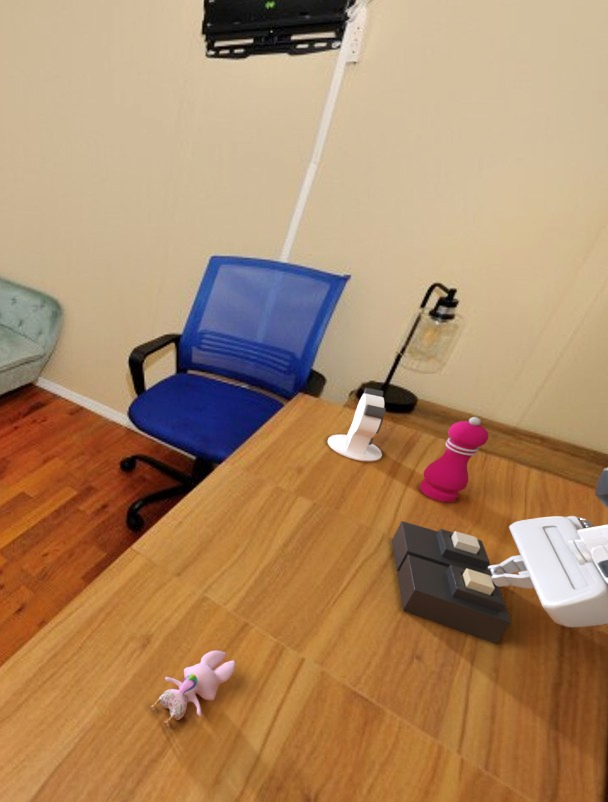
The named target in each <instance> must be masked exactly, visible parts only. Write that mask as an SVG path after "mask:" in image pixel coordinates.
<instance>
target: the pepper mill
mask: <svg viewBox="0 0 608 802" xmlns="http://www.w3.org/2000/svg"><path fill="white" fill-rule="evenodd" d="M481 423H482V420H481V418H480V417H477V416H472V417H470V418H469V419H468V420H462V421H457V422H455V423H453V424H452V425H451V426H450V427H449V429H448V431H447V433H448V436H449V437H448V438H447V440H446V442H445V446H446V448H445V450H444V453H443V454H442V455H440V457H439V458H437V459H436V460H434V461H432V462H430V464H428V465H427V466H426V468H425V469H424V470H423V473H422V475H423V477H424V479H422V480H421V482H420V485H419V490H420V492H421V493H422V494H423V495H425V496H427V497H428V498H431V499H432V500H435V501H438V502H442V503H453V502H455V501H456V500H457V498H458V497H459V492H461V491H463V490H465V489H466V487H467V486H468V483H469V472H468V464H469V461H470V459H471V458H472V456H475V455H477V454H478V451H479V449H480V448H479V447H482V446H484V445H485V444H487V442H488V441H489V432H488V430H487V429H486V428H485V427H484V426H482V425H481Z"/></svg>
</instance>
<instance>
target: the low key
mask: <svg viewBox="0 0 608 802" xmlns="http://www.w3.org/2000/svg"><path fill="white" fill-rule="evenodd" d="M453 532H454V533H453V535H452V537H451V540H452V543H453V547H454V548H457V549H460V550H464V551H467V552H470V553H474V554H477V552H478V551H479V549H480V546H479V543H478V540H479V539H478V537H477V536H473V535H471V534H466V533H463V532H460V531H457V530H455V531H453ZM477 539H478V540H477Z"/></svg>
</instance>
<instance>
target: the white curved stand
mask: <svg viewBox="0 0 608 802" xmlns="http://www.w3.org/2000/svg"><path fill="white" fill-rule="evenodd" d="M383 396H384V391H383V390H379V389H374V388H368V387H365V388H364V391H363V393H362V395H361V397H360V399H359V401H358V404H357V407H356V409H355V412H354V416H353V420H352V422H351V425H350V427H349V429H348V432H347V434H332V435H330V436H329V437H328V439H327V444H328V446H329V447H330V449H331V450H333V451H334V452H336V453H338V454H339V455H341V456H343V457H345V458H347V459H348V458H349V459H352V460H355V461H359V462H369V463H370V462H376V461H379V460H380V459H382V456H383V453H382V450H381V449H380V448H379V447H378V446H376V444H374V443H373V441H374V437H375V436H376V434H379V432H380V430H381V428H382V425H383V422H384V417H385V414H386V410H387V407H385V398H384V397H383Z"/></svg>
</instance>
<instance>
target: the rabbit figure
mask: <svg viewBox="0 0 608 802" xmlns="http://www.w3.org/2000/svg"><path fill="white" fill-rule="evenodd" d="M226 657H227V652H225V651H222V650H211V651H208V652H207V653H205V654H204V655H203V656H202V657H201V659H200V662H199V663H197V664H194V665H191V666H187V667H185V668H184V669H183V677H184V680H183V681H180V680H178V679H176V678H173V677H169V676H165V677H164V680H165V682H170V683H173V684H174V685H176V686H177V687H178V689H176V688H170V689H167V690H165V691H163V693H162V694H161V695H159V698H158V699H157V700H156V702H154V703H153V704H152V705H151V706H150V708H152V711H155V712H157V705H158V704H160V705H161V707H162V708H164V709H167V710H169V715H170V717H169V718H167V719H166V720H164V721H163V723H165V725H166V727H168V728H171V727H170V722H171V720H172V719H173V720H175V721H179V720H181V719H182V718H183V717H184V716H185V714H186V711H187V706H188V703H193V704H194V706H195V708H196V715H197V716H199V717H201V716H202V708H201V704H200V701H199V699H198V698H197V697H198V696H200V697H201V698H202V699H203V700H206V701H214V700H215V699H216V695H217V691H218V687H219V686H220V684H223V683H225V682H227V681H228V680H229V679H231V677H232V675H233V673H234V672H235V669H236V661H235V660H229V661H226V662H223V663H222V664H220V663H221V662H222V661H223V660H224V659H225V658H226ZM218 665H219V666H218ZM217 666H218V667H217ZM196 694H197V695H198V696H197V695H196Z"/></svg>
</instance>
